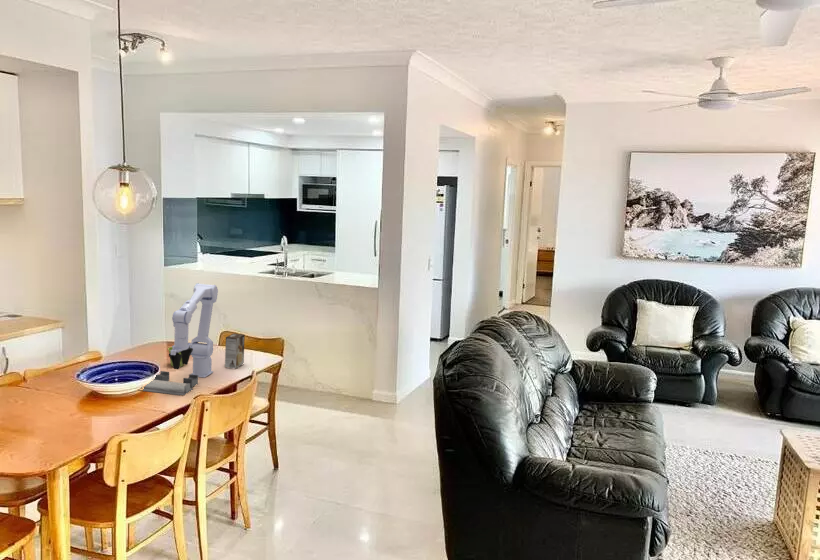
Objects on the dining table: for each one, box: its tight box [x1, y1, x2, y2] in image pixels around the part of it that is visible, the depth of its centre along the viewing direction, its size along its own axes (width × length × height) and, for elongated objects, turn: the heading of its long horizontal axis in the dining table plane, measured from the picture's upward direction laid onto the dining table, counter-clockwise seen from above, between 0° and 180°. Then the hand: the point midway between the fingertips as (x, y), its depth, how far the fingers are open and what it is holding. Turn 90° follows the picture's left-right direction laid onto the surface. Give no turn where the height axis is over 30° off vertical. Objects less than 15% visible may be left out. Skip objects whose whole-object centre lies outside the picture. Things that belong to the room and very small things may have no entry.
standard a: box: [182, 373, 199, 389], centre depth 275 cm, size 6×4×4 cm, turn 173°
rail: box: [144, 379, 191, 394], centre depth 267 cm, size 4×21×3 cm, turn 83°
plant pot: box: [167, 346, 185, 368], centre depth 302 cm, size 9×9×9 cm
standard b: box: [153, 370, 170, 382], centre depth 276 cm, size 6×4×4 cm, turn 173°
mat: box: [142, 387, 194, 396], centre depth 267 cm, size 9×21×1 cm, turn 83°
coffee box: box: [224, 333, 246, 369], centre depth 308 cm, size 9×6×16 cm
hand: (180, 366), depth 269 cm, fingers open, 7 cm apart
